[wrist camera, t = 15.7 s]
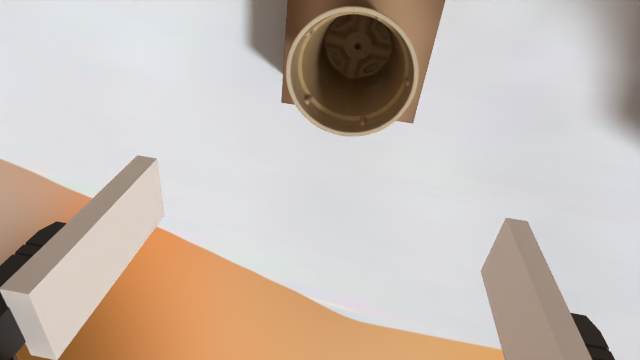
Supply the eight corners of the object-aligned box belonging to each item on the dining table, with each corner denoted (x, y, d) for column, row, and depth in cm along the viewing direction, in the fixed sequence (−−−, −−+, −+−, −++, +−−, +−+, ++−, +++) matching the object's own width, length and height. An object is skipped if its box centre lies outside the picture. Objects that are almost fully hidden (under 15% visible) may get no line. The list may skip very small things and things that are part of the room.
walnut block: (442, -33, 37) (451, -25, 32) (409, 100, 44) (412, 123, 39) (303, -53, 38) (290, -48, 33) (292, 81, 45) (281, 102, 40)
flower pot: (368, 114, 39) (365, 158, 32) (286, 58, 37) (263, 92, 30) (434, 31, 34) (448, 61, 27) (343, -38, 32) (332, -25, 25)
